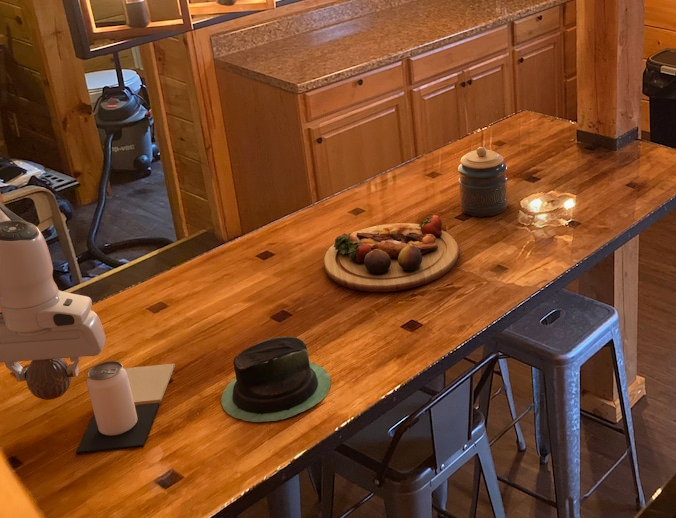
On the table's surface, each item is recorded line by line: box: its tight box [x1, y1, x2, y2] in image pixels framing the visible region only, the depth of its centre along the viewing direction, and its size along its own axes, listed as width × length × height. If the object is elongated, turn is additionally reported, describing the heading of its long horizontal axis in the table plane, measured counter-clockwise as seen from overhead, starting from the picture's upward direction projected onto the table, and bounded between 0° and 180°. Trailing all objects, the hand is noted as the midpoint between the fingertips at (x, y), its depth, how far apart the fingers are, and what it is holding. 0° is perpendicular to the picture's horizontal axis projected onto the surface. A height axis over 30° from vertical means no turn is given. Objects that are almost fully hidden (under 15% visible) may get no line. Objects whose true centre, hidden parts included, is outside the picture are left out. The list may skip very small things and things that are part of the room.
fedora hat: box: [220, 336, 332, 423], centre depth 181 cm, size 15×19×20 cm
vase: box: [25, 358, 72, 401], centre depth 169 cm, size 7×7×9 cm
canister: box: [457, 146, 509, 218], centre depth 254 cm, size 13×13×18 cm
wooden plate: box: [322, 214, 460, 293], centre depth 228 cm, size 32×32×8 cm
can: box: [86, 360, 137, 436], centre depth 169 cm, size 6×6×12 cm
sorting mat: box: [75, 363, 176, 455], centre depth 177 cm, size 11×25×1 cm, turn 10°
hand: (49, 377), depth 170 cm, fingers closed on vase, 7 cm apart
